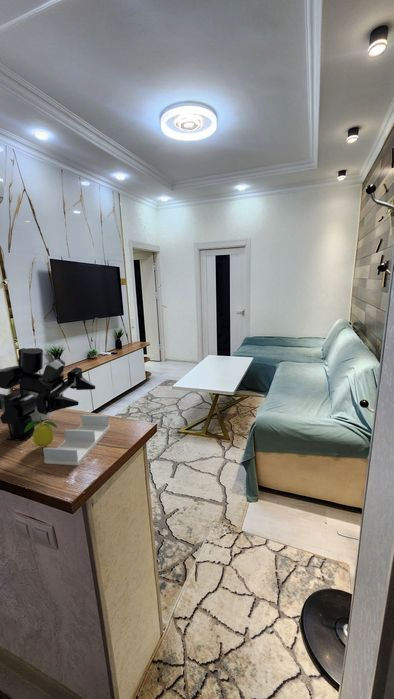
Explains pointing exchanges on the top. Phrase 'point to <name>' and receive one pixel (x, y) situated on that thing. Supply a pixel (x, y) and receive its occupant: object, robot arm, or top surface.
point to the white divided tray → (78, 441)
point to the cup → (37, 415)
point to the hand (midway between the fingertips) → (87, 395)
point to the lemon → (42, 433)
